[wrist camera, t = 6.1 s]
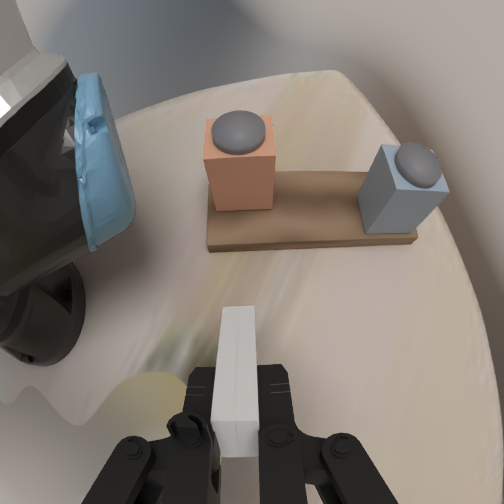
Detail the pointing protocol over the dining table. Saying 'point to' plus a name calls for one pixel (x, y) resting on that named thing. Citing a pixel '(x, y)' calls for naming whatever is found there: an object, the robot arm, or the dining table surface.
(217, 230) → the button board
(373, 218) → the slate button
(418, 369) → the dining table surface
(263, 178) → the salmon button
